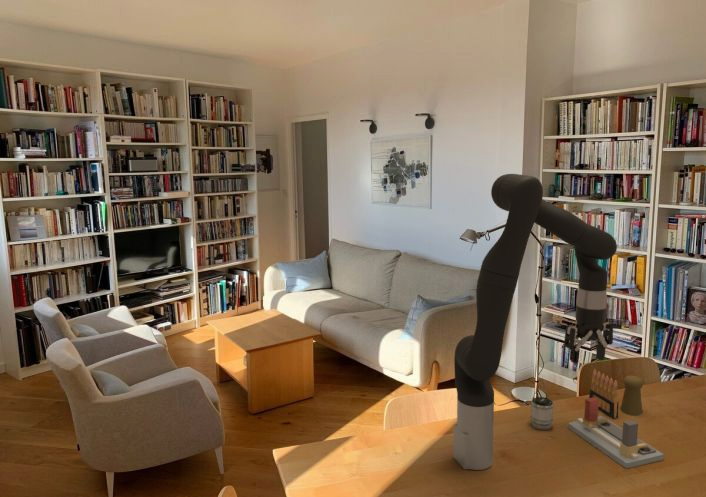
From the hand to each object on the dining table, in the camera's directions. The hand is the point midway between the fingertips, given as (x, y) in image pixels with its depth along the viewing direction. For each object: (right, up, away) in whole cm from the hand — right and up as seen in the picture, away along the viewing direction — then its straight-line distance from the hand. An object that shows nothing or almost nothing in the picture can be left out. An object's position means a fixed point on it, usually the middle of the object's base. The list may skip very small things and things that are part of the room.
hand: (587, 360), depth 150 cm
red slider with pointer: (+4, -19, +4) cm, 20 cm away
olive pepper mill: (+21, -19, +16) cm, 32 cm away
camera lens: (-10, -21, +9) cm, 25 cm away
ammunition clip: (+12, -19, +17) cm, 28 cm away
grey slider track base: (+6, -22, -2) cm, 23 cm away
